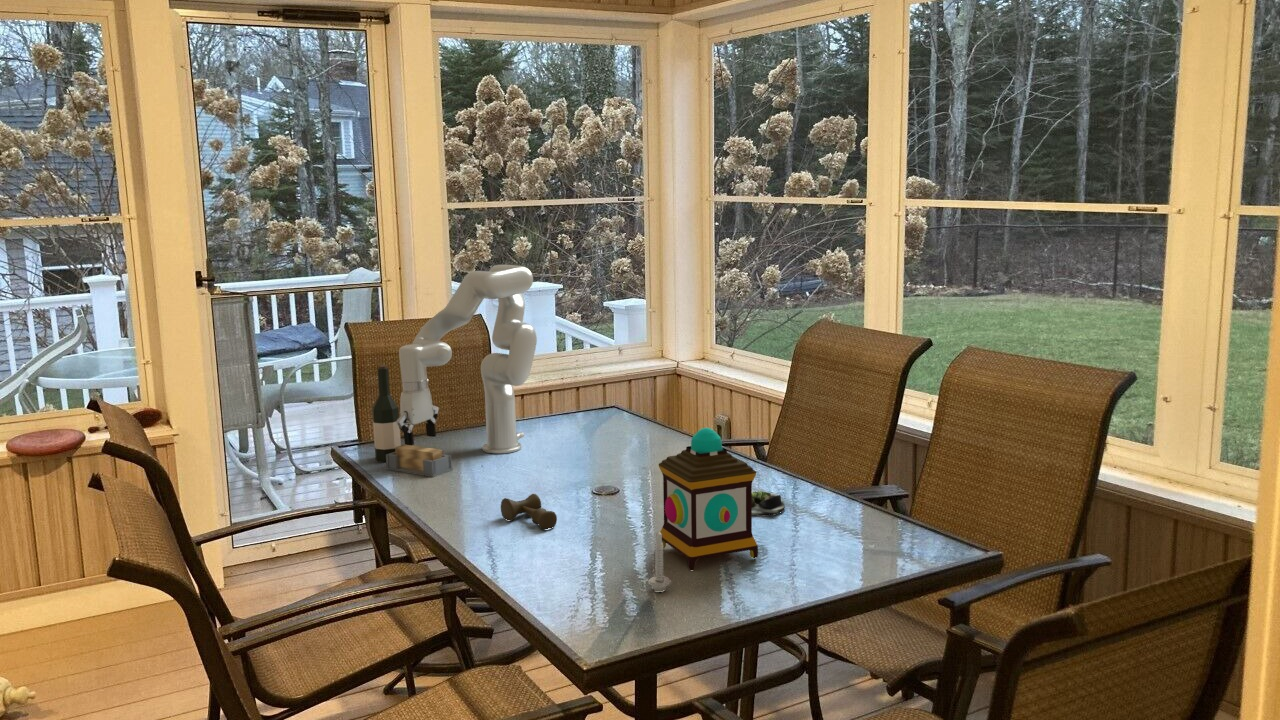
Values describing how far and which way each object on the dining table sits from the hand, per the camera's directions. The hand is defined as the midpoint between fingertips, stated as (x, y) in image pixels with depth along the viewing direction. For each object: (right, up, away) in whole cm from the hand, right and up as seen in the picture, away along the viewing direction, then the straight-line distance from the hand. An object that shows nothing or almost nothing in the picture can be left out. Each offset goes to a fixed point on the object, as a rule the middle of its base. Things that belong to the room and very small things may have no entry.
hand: (420, 440), depth 314 cm
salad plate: (+97, -15, -42) cm, 106 cm away
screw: (+71, -24, -96) cm, 122 cm away
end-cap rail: (-1, -9, +1) cm, 9 cm away
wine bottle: (-13, -7, +14) cm, 20 cm away
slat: (0, -8, +1) cm, 8 cm away
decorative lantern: (+82, -21, -75) cm, 113 cm away
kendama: (+38, -17, -49) cm, 64 cm away
